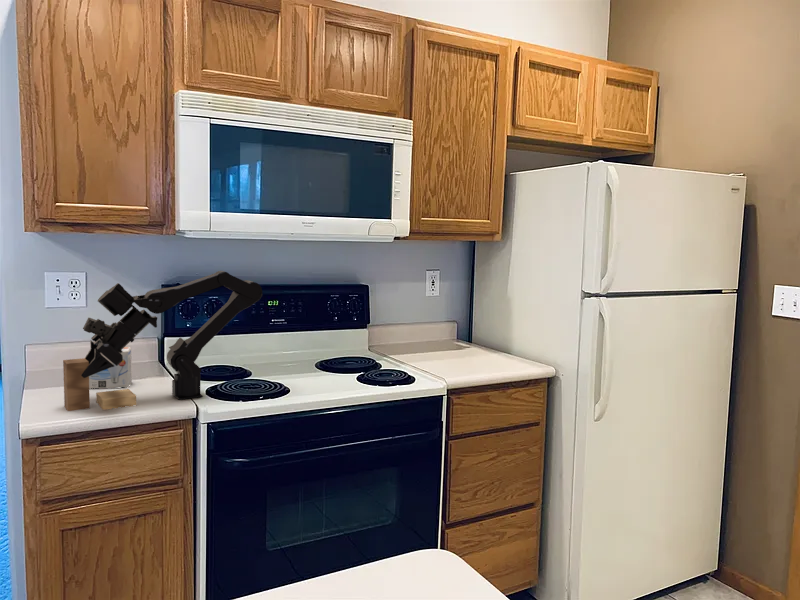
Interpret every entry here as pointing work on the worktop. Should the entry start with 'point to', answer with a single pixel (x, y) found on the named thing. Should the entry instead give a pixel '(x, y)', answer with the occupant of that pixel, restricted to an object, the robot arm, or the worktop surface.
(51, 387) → the worktop surface
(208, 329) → the robot arm
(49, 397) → the worktop surface
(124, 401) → the oak block
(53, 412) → the worktop surface
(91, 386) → the light bulb box
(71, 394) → the walnut block
